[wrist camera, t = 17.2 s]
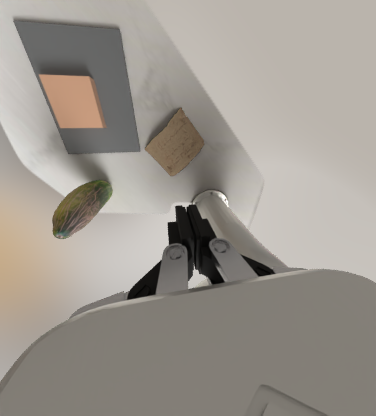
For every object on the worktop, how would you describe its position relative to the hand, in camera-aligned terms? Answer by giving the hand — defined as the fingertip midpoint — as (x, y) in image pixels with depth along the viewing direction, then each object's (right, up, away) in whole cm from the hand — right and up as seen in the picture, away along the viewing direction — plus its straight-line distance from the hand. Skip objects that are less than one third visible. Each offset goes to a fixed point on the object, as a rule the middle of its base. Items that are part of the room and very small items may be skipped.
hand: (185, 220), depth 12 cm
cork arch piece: (-3, +17, +25) cm, 30 cm away
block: (-18, +22, +16) cm, 32 cm away
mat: (-20, +23, +17) cm, 35 cm away
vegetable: (-23, +7, +26) cm, 35 cm away
